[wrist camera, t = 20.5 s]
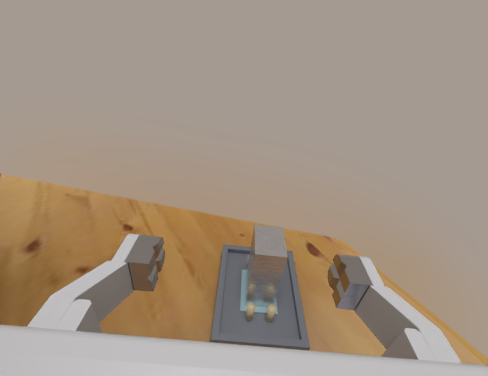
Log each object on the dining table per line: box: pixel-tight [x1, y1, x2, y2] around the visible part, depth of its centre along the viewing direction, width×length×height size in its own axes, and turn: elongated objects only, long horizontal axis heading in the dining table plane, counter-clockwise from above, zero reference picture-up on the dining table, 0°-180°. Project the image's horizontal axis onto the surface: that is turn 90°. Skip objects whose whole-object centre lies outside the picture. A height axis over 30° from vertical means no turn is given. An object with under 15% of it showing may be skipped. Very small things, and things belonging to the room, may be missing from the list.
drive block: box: [245, 225, 288, 307], centre depth 39 cm, size 4×6×12 cm
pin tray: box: [211, 245, 310, 350], centre depth 42 cm, size 14×18×4 cm
